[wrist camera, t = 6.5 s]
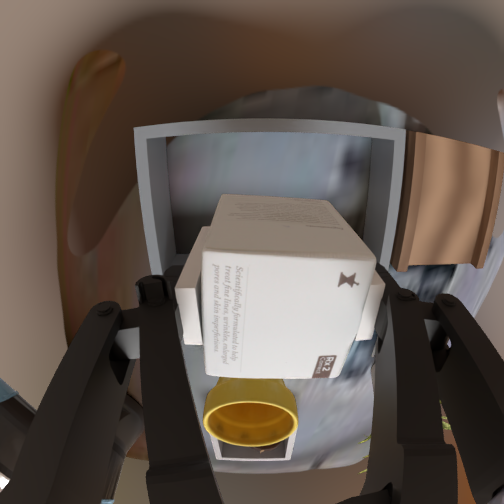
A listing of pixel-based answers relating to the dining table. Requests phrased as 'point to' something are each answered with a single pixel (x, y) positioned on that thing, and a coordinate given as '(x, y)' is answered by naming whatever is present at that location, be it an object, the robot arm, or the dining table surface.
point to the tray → (446, 202)
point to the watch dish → (253, 451)
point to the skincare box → (281, 288)
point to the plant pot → (250, 411)
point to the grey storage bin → (154, 137)
